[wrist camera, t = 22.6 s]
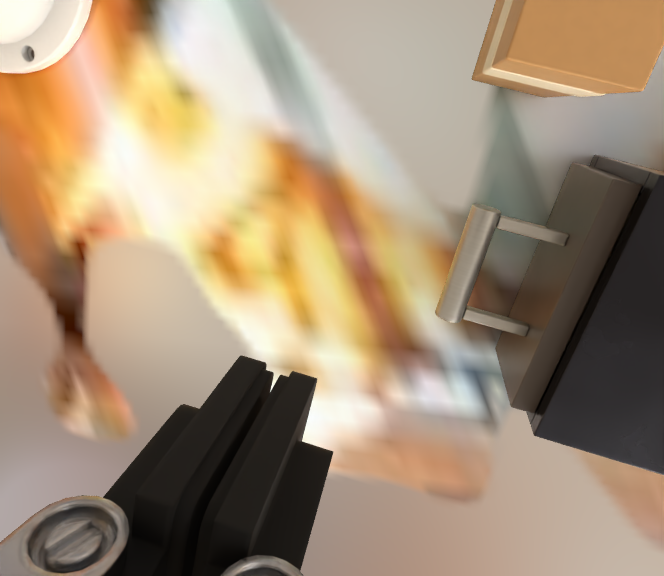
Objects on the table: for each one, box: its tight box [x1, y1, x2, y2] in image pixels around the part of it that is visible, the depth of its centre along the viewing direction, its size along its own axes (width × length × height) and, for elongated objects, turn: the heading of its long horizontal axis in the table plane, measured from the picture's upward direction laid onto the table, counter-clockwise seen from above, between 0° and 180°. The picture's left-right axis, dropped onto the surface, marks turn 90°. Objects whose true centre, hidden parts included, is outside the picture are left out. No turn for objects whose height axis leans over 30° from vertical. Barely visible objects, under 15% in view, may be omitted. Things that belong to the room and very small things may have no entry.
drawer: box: [435, 162, 642, 414], centre depth 25 cm, size 18×12×6 cm, turn 77°
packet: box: [472, 0, 664, 97], centre depth 19 cm, size 4×6×13 cm
